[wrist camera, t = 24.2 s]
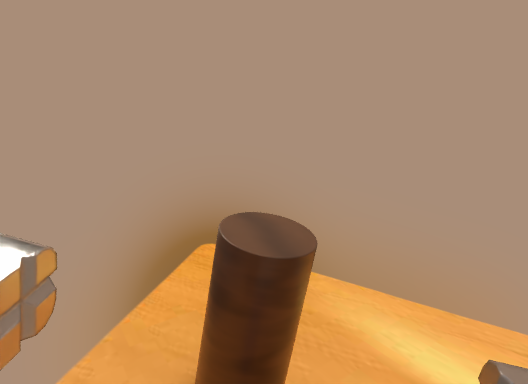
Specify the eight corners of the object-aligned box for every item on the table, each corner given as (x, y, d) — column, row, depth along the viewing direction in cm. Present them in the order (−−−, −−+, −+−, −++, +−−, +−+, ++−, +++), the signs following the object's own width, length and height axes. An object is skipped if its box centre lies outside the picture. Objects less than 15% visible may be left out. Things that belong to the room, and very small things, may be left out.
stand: (212, 461, 38) (248, 264, 32) (178, 393, 44) (202, 215, 38) (291, 432, 42) (337, 251, 36) (250, 373, 48) (283, 209, 42)
